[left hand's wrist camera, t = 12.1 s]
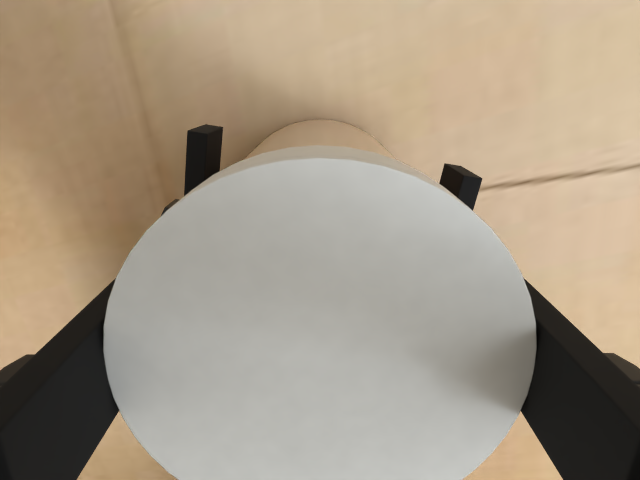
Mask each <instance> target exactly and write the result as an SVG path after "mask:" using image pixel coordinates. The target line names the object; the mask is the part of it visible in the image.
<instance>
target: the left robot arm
mask: <svg viewBox="0 0 640 480" xmlns="http://www.w3.org/2000/svg"><path fill="white" fill-rule="evenodd" d="M115 280H116V279H115ZM115 280H113V281H112V282H111V283H110V284H109V285H108V286H107V287H106V288H105V289H104V290H103V291H102V292H101V293H100V294H99V295H98V296H97V297H95V298H94V299H93V300H92V301H91V302H90V303H89V304H88V305H87V306H86V307H85V308H84V309H83V310H82V311H81V312H80V313H79V314H77V315H76V316H75V317H74V318H73V319H72V320H71V321H70V322H69V323H68V324H67V325H66V326H65V327H64V328H63V329H62V330H61V331H60V332H58V333H57V334H56V335H55V336H54V337H53V338H52V339H51V340H50V341H49V342H48V343H47V344H46V345H45V346H44V347H43V348H42V349H40V350H39V351H38V352H37V353H36V354H35V355H25V356H23V357H22V358H20V359H18V360H16V361H14V362H13V363H11V364H9V365H7V366H6V367H4V368H3V369H2V370H0V480H77V478H78V476H79V475H80V473H81V471H82V470H83V468H84V467H85V465H86V463H87V462H88V460H89V459H90V457H91V455H92V454H93V452H94V450H95V449H96V447H97V446H98V444H99V442H100V441H101V439H102V437H103V436H104V434H105V433H106V431H107V429H108V428H109V426H110V425H111V423H112V421H113V420H114V418H115V416H116V415H117V413H118V412H119V408H118V406H117V404H116V402H115V400H114V398H113V394H112V391H111V388H110V384H109V381H108V377H107V372H106V366H105V360H104V353H103V337H104V321H105V316H106V310H107V305H108V300H109V297H110V294H111V291H112V288H113V286H114V283H115ZM524 281H525V284H526V286H527V289H528V292H529V294H530V297H531V301H532V306H533V311H534V316H535V321H536V341H537V350H536V358H535V366H534V371H533V376H532V380H531V384H530V388H529V391H528V395H527V397H526V399H525V401H524V404H523V406H522V408H521V412H522V414H523V415H524V417H525V418H526V420H527V422H528V423H529V425H530V427H531V428H532V430H533V431H534V433H535V435H536V436H537V438H538V439H539V441H540V443H541V444H542V446H543V448H544V449H545V451H546V452H547V454H548V456H549V457H550V459H551V461H552V462H553V464H554V465H555V467H556V469H557V470H558V472H559V474H560V475H561V477H562V478H563V480H640V369H639V368H638V367H637V366H635V365H634V364H632V363H630V362H628V361H627V360H625V359H623V358H621V357H619V356H618V355H616V354H614V353H602V352H601V351H600V350H599V349H598V348H597V347H596V346H595V345H594V344H593V343H592V342H591V341H590V340H589V339H588V338H587V337H586V336H584V335H583V334H582V333H581V332H580V331H579V330H578V329H577V328H576V327H575V326H574V325H573V324H572V323H571V322H570V321H569V320H568V319H566V318H565V317H564V316H563V315H562V314H561V313H560V312H559V311H558V310H557V309H556V308H555V307H554V306H553V305H552V304H551V303H550V302H548V301H547V300H546V299H545V298H544V297H543V296H542V295H541V294H540V293H539V292H538V291H537V290H536V289H535V288H534V287H533V286H532V285H531V284H529V283H528V282H527V281H526V280H525V279H524Z"/></svg>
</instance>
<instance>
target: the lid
mask: <svg viewBox="0 0 640 480" xmlns="http://www.w3.org/2000/svg"><path fill="white" fill-rule="evenodd" d="M536 350H537V341H536V321H535V316H534V311H533V306H532V301H531V297H530V294H529V292H528V289H527V286H526V284H525V281H524V278H523V276H522V273H521V271H520V270H519V268H518V266H517V264H516V262H515V261H514V259H513V257H512V255H511V254H510V252H509V250H508V249H507V248H506V246H505V245H504V244H503V242H502V241H501V240H500V239H499V237H498V236H497V235H496V234H495V232H494V231H493V230H492V229H491V227H490V226H488V225H487V224H486V223H485V222H484V221H483V220H482V219H481V218H480V217H479V216H478V215H477V214H475V213H474V212H473V211H472V210H471V209H470V208H469V207H468V206H467V205H465V204H464V203H463V202H462V201H461V200H459V199H458V198H457V197H456V196H454V195H453V194H452V193H451V192H450V191H448V190H447V189H446V188H445V187H443V186H442V185H440V184H439V183H437V182H436V181H435V180H433V179H432V178H430V177H429V176H427V175H426V174H424V173H423V172H421V171H419V170H417V169H415V168H413V167H411V166H409V165H407V164H405V163H403V162H401V161H398V160H395V159H392V158H389V157H386V156H384V155H381V154H378V153H375V152H370V151H365V150H360V149H355V148H350V147H341V146H323V145H314V146H301V147H289V148H284V149H280V150H275V151H270V152H266V153H262V154H259V155H256V156H253V157H250V158H248V159H245V160H242V161H239V162H237V163H235V164H233V165H231V166H229V167H227V168H225V169H223V170H221V171H219V172H218V173H216V174H214V175H212V176H211V177H209V178H208V179H207V180H205V181H204V182H202V183H201V184H200V185H198V186H197V187H196V188H194V189H193V190H191V191H190V192H189V193H188V194H187V195H185V196H184V197H183V198H182V199H180V200H179V201H178V202H177V203H176V204H174V205H173V206H172V207H171V208H169V209H168V210H167V211H166V212H165V213H164V214H163V215H162V216H161V217H160V218H159V219H158V220H157V221H156V222H155V223H154V224H153V225H152V226H151V227H150V228H148V229H147V230H146V232H145V233H144V234H143V236H142V237H141V238H140V240H139V241H138V242H137V244H136V245H135V246H134V247H133V249H132V250H131V251H130V253H129V255H128V256H127V258H126V260H125V262H124V264H123V266H122V268H121V269H120V271H119V273H118V275H117V277H116V280H115V283H114V286H113V288H112V291H111V294H110V297H109V300H108V305H107V310H106V316H105V321H104V337H103V353H104V360H105V366H106V372H107V377H108V381H109V384H110V388H111V391H112V394H113V398H114V400H115V402H116V404H117V406H118V408H119V411H120V413H121V415H122V417H123V419H124V421H125V422H126V424H127V425H128V427H129V428H130V430H131V431H132V433H133V435H134V436H135V438H136V439H137V440H138V441H139V443H140V444H141V445H142V446H143V447H144V449H145V450H146V451H147V452H148V453H149V455H150V456H151V457H152V458H153V459H155V460H156V461H157V462H158V463H159V464H160V465H161V466H162V467H163V468H164V469H165V470H166V471H167V472H169V473H170V474H171V475H173V476H174V477H175V478H177V479H178V480H462V479H463V478H465V477H466V476H467V475H469V474H470V473H471V472H473V471H474V470H475V469H476V468H477V467H478V466H479V465H480V464H481V463H482V462H483V461H484V460H485V459H486V458H487V457H488V456H490V455H491V454H492V452H493V451H494V450H495V449H496V447H497V446H498V445H499V444H500V442H501V441H502V440H503V439H504V437H505V436H506V435H507V433H508V432H509V430H510V428H511V427H512V425H513V423H514V422H515V420H516V419H517V417H518V415H519V413H520V411H521V408H522V406H523V404H524V401H525V399H526V397H527V395H528V391H529V388H530V384H531V380H532V376H533V371H534V366H535V358H536Z"/></svg>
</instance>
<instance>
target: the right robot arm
mask: <svg viewBox="0 0 640 480" xmlns="http://www.w3.org/2000/svg"><path fill="white" fill-rule="evenodd" d="M222 133H223V127H218V126H212V125H203V126H200V127H197V128H194V129H191V130H188V132H187V152H186V171H185V190H184V196H185V195H187V194H188V193H189V192H190V191H191V190H193V189H194V188H196V187H197V186H198V185H200V184H201V183H202V182H204V181H205V180H207V179H208V178H209V177H211V176H212V175H214V174H216V173H218V172H219V171H220V158H221V146H222ZM481 181H482V178H481V177H479V176H477V175H475V174H474V173H472V172H470V171H468V170H467V169H465V168H463V167H462V166H457V165H451V164H444V168H443V172H442V175H441V179H440V183H439V184H440V185H442V186H443V187H445V188H446V189H447V190H448V191H450V192H451V193H452V194H453V195H454V196H456V197H457V198H458V199H459V200H461V201H462V202H463V203H464V204H465V205H467V206H468V207H469V208H470V209H471V210H472V211H473V208H474V205H475V202H476V198H477V195H478V191H479V188H480V185H481ZM178 201H179V199H175V200H174V201H173V202H171V203H170V204H169V205H168V206H166V207H165V209H164V211H163V213H162V215H163V214H164V213H165V212H166V211H167V210H168V209H169V208H171V207H172V206H173V205H174V204H176V203H177V202H178ZM162 215H161V216H162Z"/></svg>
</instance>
